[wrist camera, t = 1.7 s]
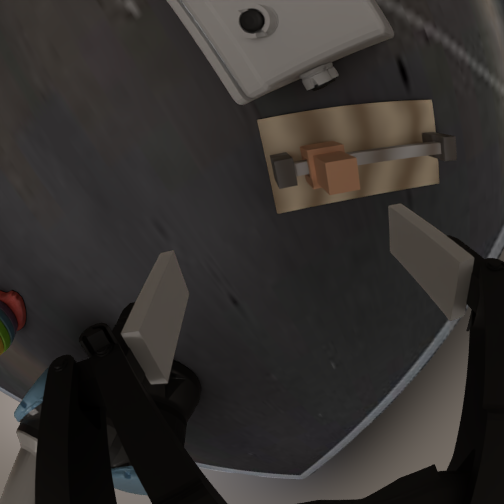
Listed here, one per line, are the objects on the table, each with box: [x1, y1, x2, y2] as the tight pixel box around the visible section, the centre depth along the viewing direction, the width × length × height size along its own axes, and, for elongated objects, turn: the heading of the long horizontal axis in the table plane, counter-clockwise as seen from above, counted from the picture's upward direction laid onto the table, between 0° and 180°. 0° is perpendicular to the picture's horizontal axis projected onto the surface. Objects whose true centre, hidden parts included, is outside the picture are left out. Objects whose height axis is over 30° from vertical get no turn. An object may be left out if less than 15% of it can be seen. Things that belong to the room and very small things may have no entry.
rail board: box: [257, 100, 457, 214], centre depth 34 cm, size 24×12×6 cm, turn 102°
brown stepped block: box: [300, 141, 360, 195], centre depth 30 cm, size 4×4×9 cm
